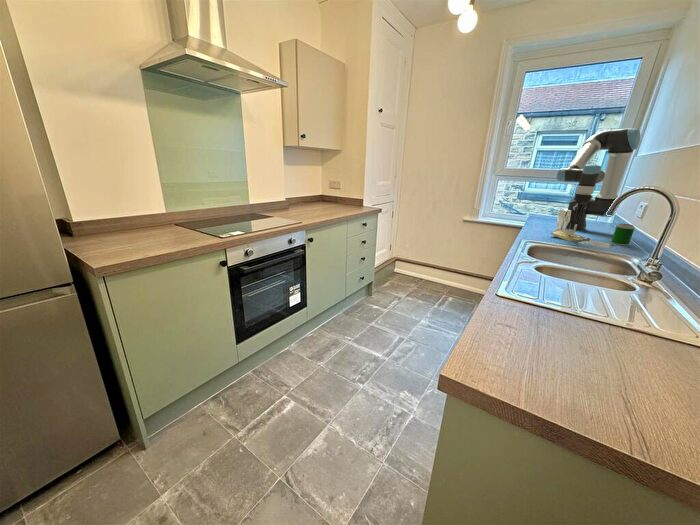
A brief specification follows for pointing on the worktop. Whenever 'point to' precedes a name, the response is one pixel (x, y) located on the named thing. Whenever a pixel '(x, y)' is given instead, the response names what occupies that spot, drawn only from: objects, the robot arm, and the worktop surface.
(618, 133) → the robot arm
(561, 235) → the swing leaf
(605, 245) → the base leaf
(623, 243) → the soda can
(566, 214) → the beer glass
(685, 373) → the worktop surface
